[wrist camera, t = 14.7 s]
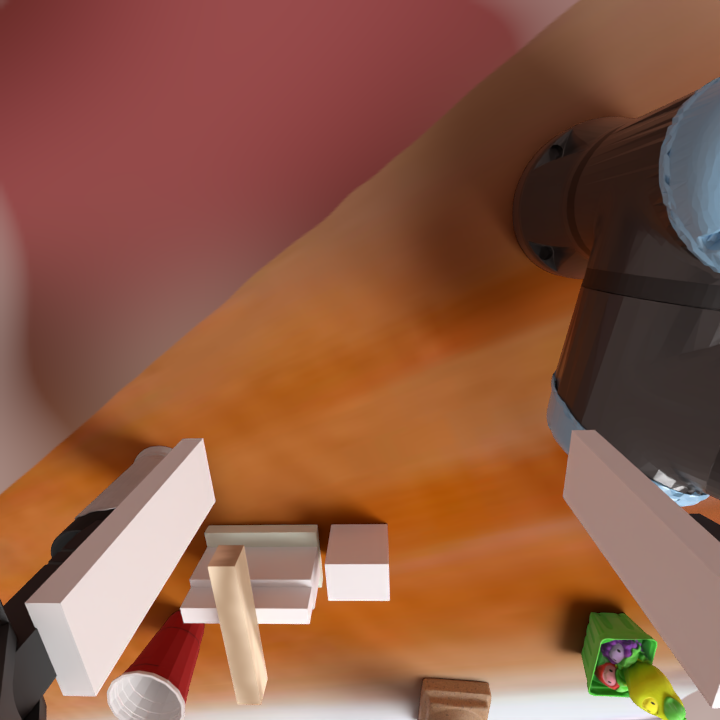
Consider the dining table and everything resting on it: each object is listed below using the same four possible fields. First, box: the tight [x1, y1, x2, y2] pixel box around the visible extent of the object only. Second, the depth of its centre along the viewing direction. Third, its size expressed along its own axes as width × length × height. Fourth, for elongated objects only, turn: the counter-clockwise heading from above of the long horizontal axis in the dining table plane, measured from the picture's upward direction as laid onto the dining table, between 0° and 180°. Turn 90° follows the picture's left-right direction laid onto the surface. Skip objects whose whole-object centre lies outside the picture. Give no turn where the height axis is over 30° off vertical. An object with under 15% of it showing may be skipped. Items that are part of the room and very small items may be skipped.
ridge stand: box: [180, 525, 323, 624], centre depth 52 cm, size 16×10×10 cm, turn 93°
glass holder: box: [51, 446, 172, 595], centre depth 47 cm, size 9×14×15 cm, turn 21°
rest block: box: [325, 524, 390, 601], centre depth 52 cm, size 8×6×7 cm
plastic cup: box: [107, 610, 204, 720], centre depth 56 cm, size 11×11×12 cm
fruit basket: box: [581, 612, 686, 720], centre depth 54 cm, size 11×9×11 cm
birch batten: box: [208, 545, 268, 705], centre depth 46 cm, size 3×22×3 cm, turn 3°
